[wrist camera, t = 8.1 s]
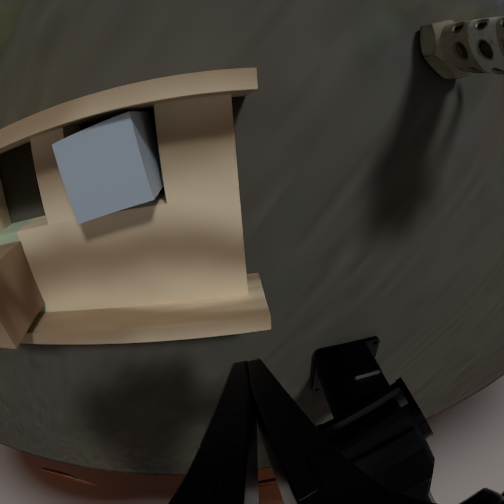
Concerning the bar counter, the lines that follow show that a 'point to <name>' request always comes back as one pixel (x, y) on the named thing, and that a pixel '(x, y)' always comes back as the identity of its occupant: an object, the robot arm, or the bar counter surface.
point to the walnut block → (16, 295)
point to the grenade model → (464, 47)
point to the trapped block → (110, 165)
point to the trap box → (144, 224)
